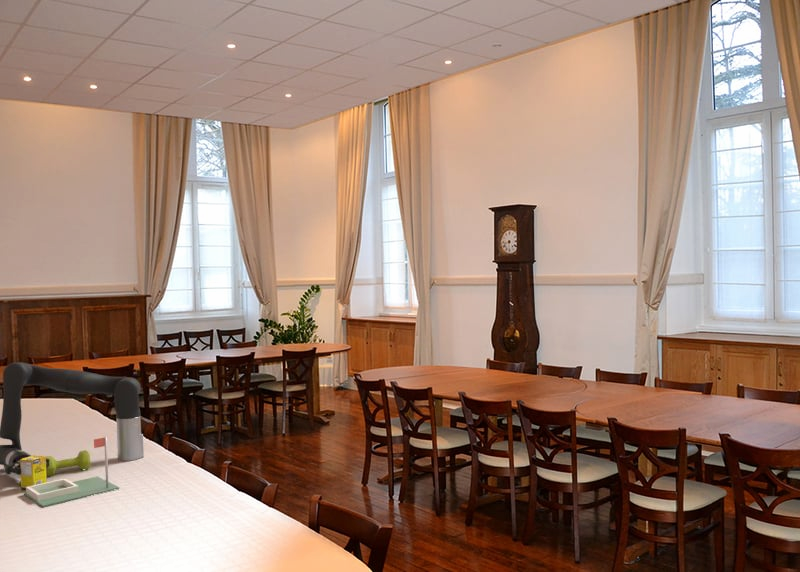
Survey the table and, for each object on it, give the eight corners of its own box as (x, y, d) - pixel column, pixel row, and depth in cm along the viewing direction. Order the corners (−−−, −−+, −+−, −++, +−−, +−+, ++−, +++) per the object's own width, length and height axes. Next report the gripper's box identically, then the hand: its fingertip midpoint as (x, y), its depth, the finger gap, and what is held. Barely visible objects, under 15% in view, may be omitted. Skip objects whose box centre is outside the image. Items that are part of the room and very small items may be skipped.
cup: (97, 477, 254) (95, 428, 253) (119, 489, 239) (117, 436, 239) (24, 494, 236) (22, 441, 236) (43, 507, 222) (41, 451, 221)
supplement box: (47, 485, 246) (46, 455, 245) (33, 490, 240) (32, 460, 240) (34, 484, 248) (33, 454, 247) (20, 489, 242) (19, 459, 242)
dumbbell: (44, 479, 255) (44, 460, 255) (41, 474, 261) (41, 455, 261) (92, 470, 264) (91, 452, 264) (88, 466, 271) (87, 448, 270)
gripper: (-3, 455, 251) (10, 463, 239) (39, 447, 261) (53, 454, 249) (-2, 475, 251) (11, 484, 239) (40, 467, 261) (54, 475, 249)
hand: (32, 469), depth 244 cm, fingers open, 8 cm apart
